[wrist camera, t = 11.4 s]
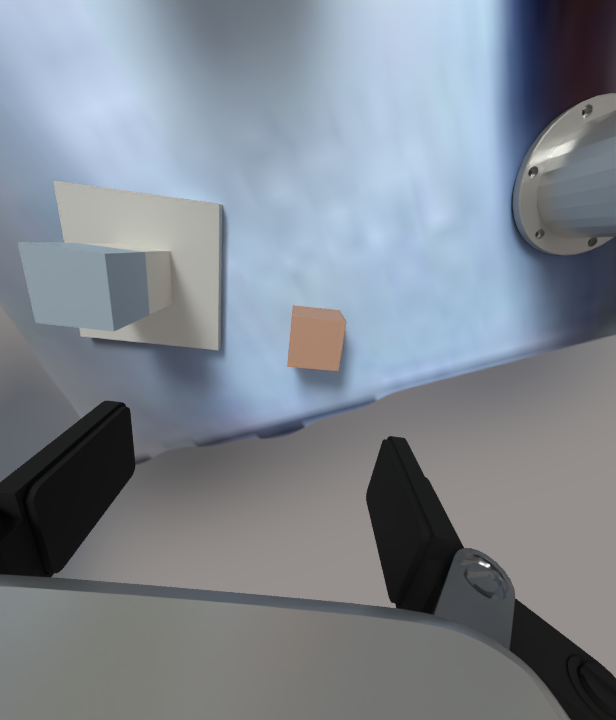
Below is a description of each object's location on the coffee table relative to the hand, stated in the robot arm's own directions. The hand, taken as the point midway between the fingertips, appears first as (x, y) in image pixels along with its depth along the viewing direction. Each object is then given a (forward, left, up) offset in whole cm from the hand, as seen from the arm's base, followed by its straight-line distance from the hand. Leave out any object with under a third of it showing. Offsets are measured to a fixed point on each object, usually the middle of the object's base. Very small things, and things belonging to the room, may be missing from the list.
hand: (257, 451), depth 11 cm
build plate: (+14, -3, -22) cm, 26 cm away
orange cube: (-3, +1, -22) cm, 22 cm away
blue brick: (+14, -3, -16) cm, 21 cm away
